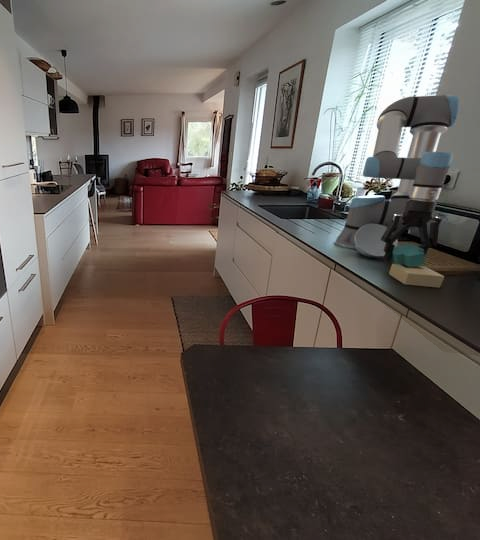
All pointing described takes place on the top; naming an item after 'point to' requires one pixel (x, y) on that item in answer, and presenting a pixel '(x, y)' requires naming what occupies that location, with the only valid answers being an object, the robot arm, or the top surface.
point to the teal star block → (408, 255)
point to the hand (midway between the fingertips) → (401, 262)
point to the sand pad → (416, 276)
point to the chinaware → (371, 240)
